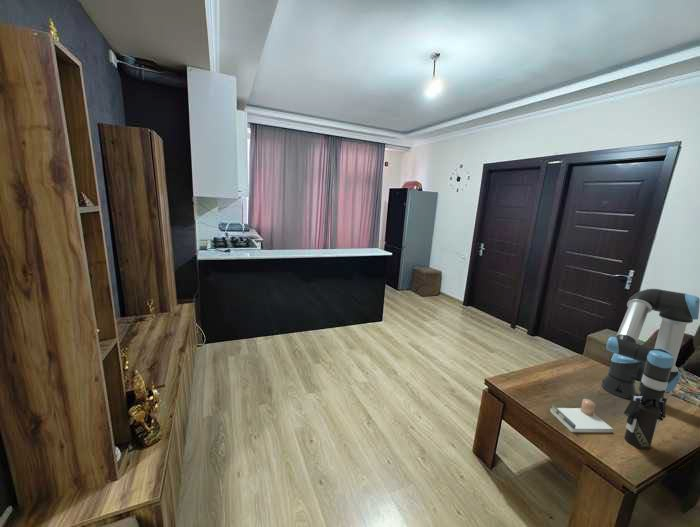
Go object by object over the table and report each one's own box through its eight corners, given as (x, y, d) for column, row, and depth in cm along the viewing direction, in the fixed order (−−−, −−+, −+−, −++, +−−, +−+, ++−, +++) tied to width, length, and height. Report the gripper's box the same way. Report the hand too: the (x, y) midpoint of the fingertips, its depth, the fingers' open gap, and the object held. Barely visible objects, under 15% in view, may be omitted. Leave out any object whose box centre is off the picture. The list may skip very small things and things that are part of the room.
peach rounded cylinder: (587, 408, 147) (589, 398, 146) (595, 415, 142) (598, 405, 141) (577, 408, 147) (580, 398, 146) (586, 415, 142) (588, 405, 141)
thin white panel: (586, 411, 148) (587, 405, 147) (611, 432, 134) (613, 425, 134) (549, 411, 147) (550, 404, 146) (571, 432, 133) (573, 425, 133)
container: (618, 435, 133) (628, 397, 129) (635, 435, 134) (645, 397, 130) (638, 451, 124) (649, 411, 120) (656, 450, 125) (668, 410, 121)
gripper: (666, 381, 128) (654, 424, 132) (620, 380, 126) (609, 423, 131) (687, 391, 120) (673, 436, 125) (637, 391, 119) (625, 436, 123)
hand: (640, 430), depth 128 cm, fingers open, 10 cm apart
